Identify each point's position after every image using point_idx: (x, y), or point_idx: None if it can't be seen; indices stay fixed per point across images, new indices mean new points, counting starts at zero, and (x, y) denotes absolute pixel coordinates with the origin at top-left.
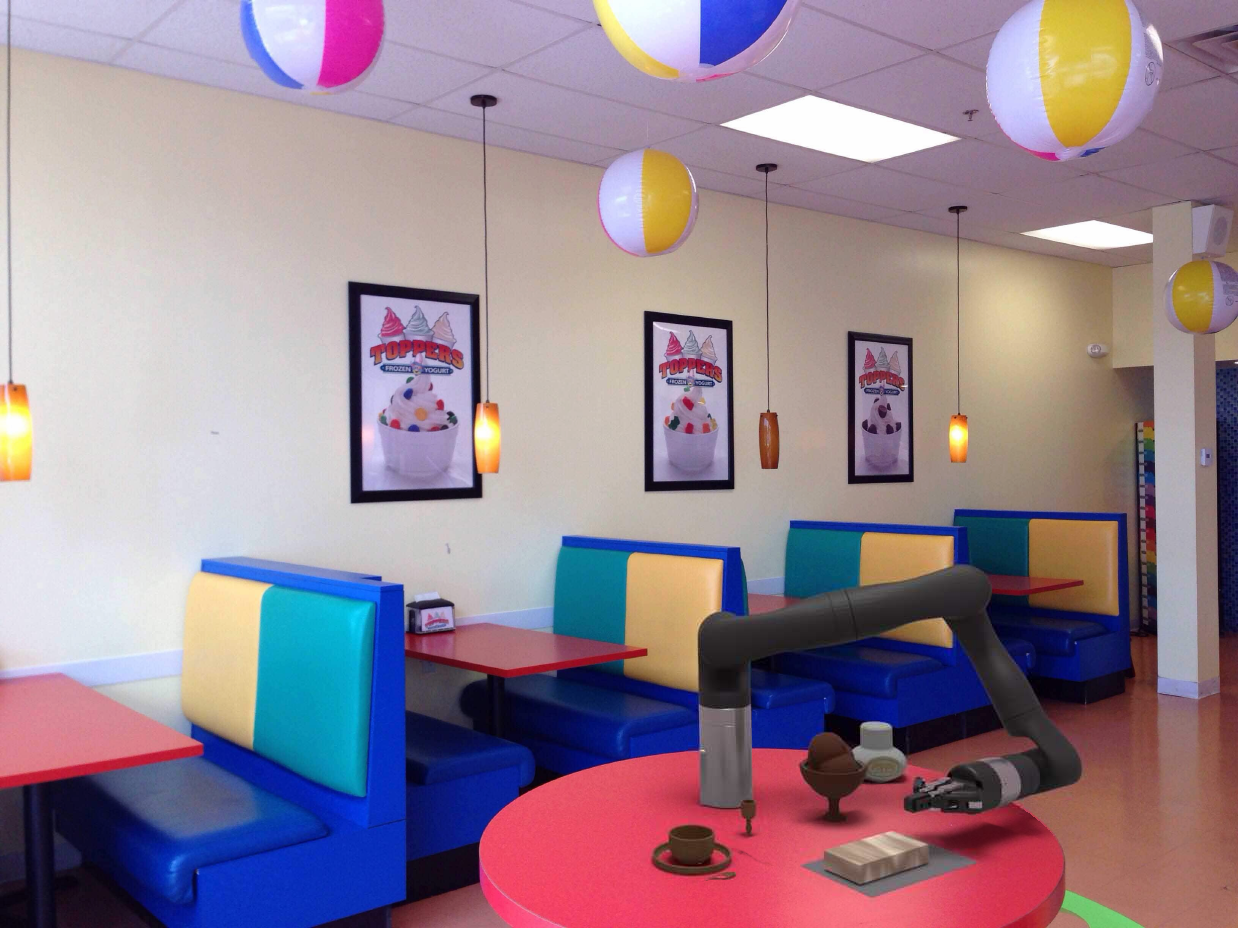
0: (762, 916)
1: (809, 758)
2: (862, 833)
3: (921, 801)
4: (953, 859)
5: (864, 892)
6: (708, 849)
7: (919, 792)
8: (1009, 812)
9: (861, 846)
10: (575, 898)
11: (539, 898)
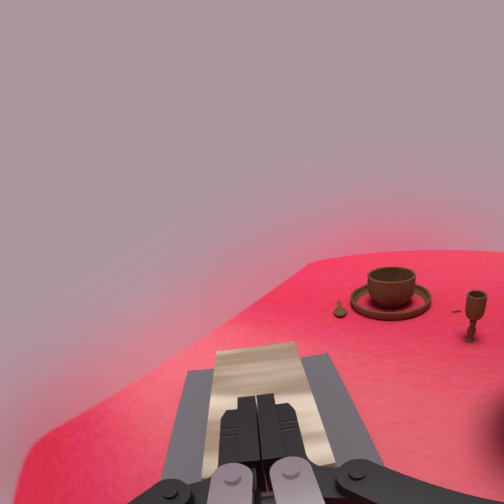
0: (240, 315)
1: None
2: (478, 474)
3: (220, 425)
4: None
5: (203, 371)
6: (371, 291)
7: (281, 450)
8: None
9: (279, 381)
10: (334, 266)
11: (340, 260)
